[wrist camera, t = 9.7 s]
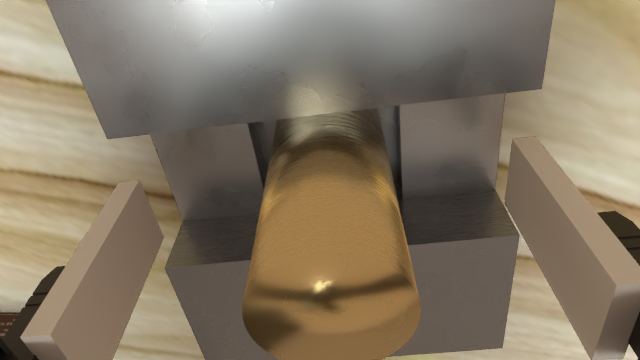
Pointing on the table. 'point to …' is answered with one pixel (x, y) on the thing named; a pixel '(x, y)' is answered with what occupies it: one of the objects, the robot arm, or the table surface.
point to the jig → (314, 99)
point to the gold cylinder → (330, 245)
